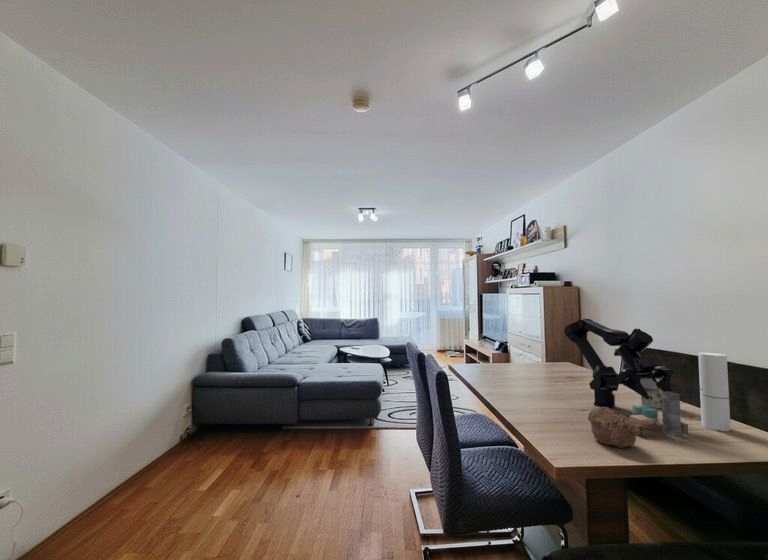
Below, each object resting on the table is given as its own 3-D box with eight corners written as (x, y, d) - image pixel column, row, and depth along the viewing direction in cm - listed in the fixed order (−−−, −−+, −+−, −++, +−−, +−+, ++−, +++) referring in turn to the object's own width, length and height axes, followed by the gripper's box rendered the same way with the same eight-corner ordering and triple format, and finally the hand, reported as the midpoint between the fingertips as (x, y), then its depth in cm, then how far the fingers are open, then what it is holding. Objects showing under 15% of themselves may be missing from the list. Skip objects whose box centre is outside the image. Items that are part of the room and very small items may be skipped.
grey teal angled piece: (632, 419, 123) (631, 383, 124) (645, 419, 124) (644, 383, 124) (670, 435, 109) (669, 394, 109) (684, 435, 109) (683, 394, 110)
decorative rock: (581, 434, 109) (580, 403, 110) (614, 433, 110) (613, 402, 111) (611, 453, 96) (610, 417, 97) (648, 452, 97) (647, 416, 98)
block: (629, 428, 115) (629, 415, 115) (642, 428, 115) (641, 415, 115) (641, 434, 110) (640, 420, 110) (653, 433, 111) (653, 419, 111)
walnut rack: (619, 427, 115) (619, 418, 116) (668, 425, 118) (667, 416, 118) (638, 436, 108) (638, 427, 108) (690, 434, 110) (690, 425, 110)
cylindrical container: (722, 425, 118) (719, 353, 120) (735, 432, 112) (731, 356, 113) (697, 422, 121) (693, 352, 122) (708, 429, 114) (705, 355, 116)
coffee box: (659, 409, 135) (658, 368, 136) (641, 405, 140) (639, 366, 141) (668, 405, 140) (667, 366, 141) (650, 401, 145) (648, 364, 146)
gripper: (621, 346, 120) (650, 386, 109) (669, 346, 122) (701, 385, 111) (605, 364, 128) (630, 403, 116) (650, 363, 130) (678, 402, 118)
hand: (660, 398), depth 115 cm, fingers open, 9 cm apart
